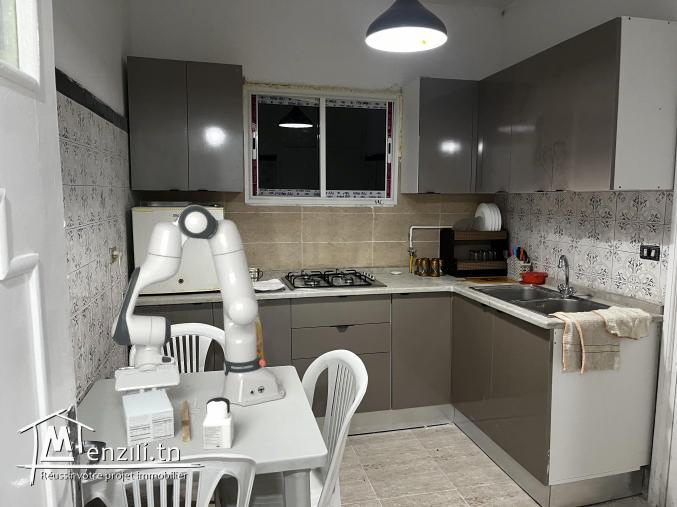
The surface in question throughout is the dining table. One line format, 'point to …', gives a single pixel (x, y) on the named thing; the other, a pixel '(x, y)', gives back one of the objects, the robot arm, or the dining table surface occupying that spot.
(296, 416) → the dining table surface
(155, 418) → the supplement box
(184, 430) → the guide rail
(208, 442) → the container
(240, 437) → the dining table surface
